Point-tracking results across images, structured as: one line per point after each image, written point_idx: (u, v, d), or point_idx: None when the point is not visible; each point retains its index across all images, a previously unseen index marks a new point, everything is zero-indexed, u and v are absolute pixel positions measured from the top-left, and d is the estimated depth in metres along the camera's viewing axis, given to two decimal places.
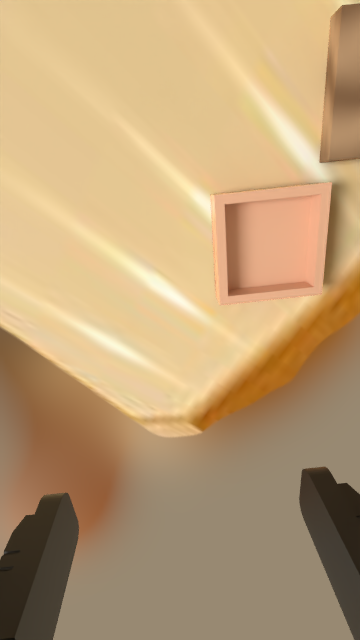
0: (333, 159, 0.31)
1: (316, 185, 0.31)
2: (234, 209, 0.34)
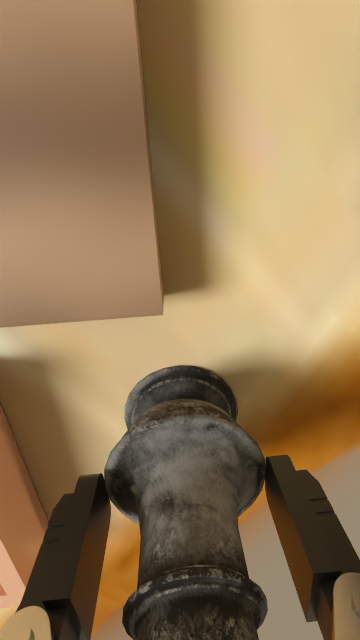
0: None
1: None
2: None
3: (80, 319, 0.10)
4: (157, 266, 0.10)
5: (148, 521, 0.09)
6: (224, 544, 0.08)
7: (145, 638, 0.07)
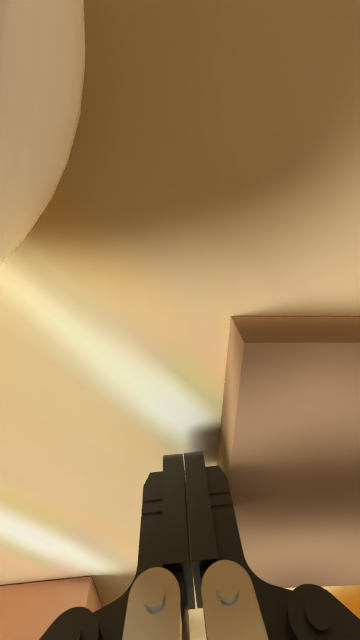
0: None
1: None
2: None
3: (335, 584, 0.13)
4: None
5: None
6: None
7: None
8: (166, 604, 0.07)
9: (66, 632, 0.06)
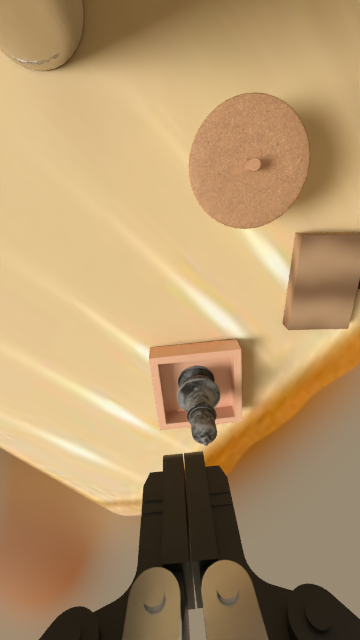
0: (291, 329, 0.40)
1: (229, 351, 0.39)
2: None
3: (327, 328, 0.40)
4: (350, 317, 0.39)
5: (200, 396, 0.38)
6: None
7: (203, 410, 0.36)
8: (166, 604, 0.07)
9: (66, 632, 0.06)
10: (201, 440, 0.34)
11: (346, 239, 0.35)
